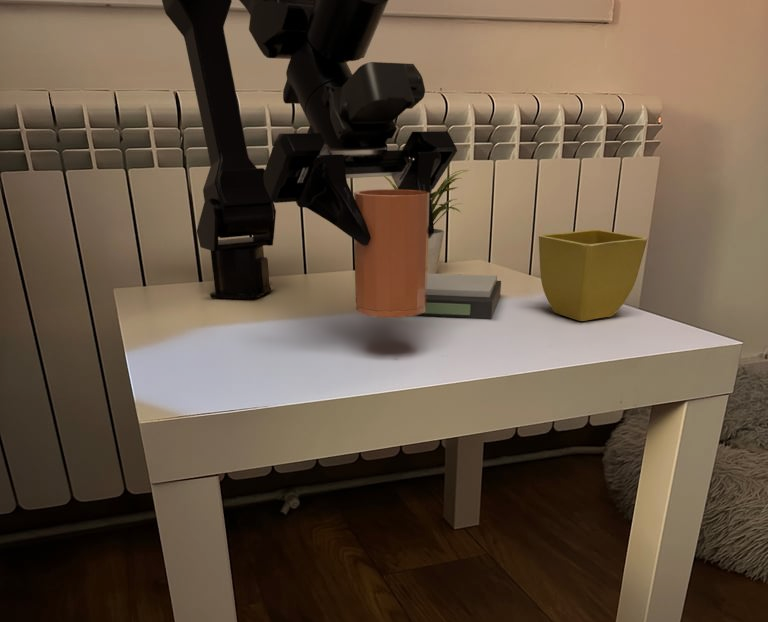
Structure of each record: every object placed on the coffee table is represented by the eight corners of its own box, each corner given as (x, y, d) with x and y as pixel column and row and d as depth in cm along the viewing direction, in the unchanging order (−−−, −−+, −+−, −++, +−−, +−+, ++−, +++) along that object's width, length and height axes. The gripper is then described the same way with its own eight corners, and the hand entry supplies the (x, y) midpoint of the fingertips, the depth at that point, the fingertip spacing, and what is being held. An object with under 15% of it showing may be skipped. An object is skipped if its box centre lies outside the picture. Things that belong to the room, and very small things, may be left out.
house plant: (475, 284, 104) (482, 157, 96) (378, 285, 103) (377, 158, 96) (464, 267, 116) (469, 153, 108) (377, 268, 116) (376, 154, 108)
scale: (399, 315, 87) (399, 291, 86) (418, 293, 99) (419, 271, 97) (490, 319, 85) (492, 295, 84) (500, 296, 97) (501, 274, 95)
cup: (348, 315, 69) (345, 195, 64) (365, 300, 74) (364, 188, 69) (419, 319, 67) (421, 196, 62) (431, 303, 73) (434, 189, 68)
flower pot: (578, 328, 81) (588, 243, 77) (530, 312, 88) (536, 234, 84) (637, 319, 85) (649, 237, 80) (586, 304, 92) (595, 228, 87)
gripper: (267, 19, 58) (344, 179, 55) (448, 32, 67) (522, 169, 65) (235, 130, 67) (300, 271, 65) (398, 128, 77) (461, 251, 74)
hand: (399, 239), depth 67 cm, fingers closed on cup, 7 cm apart
